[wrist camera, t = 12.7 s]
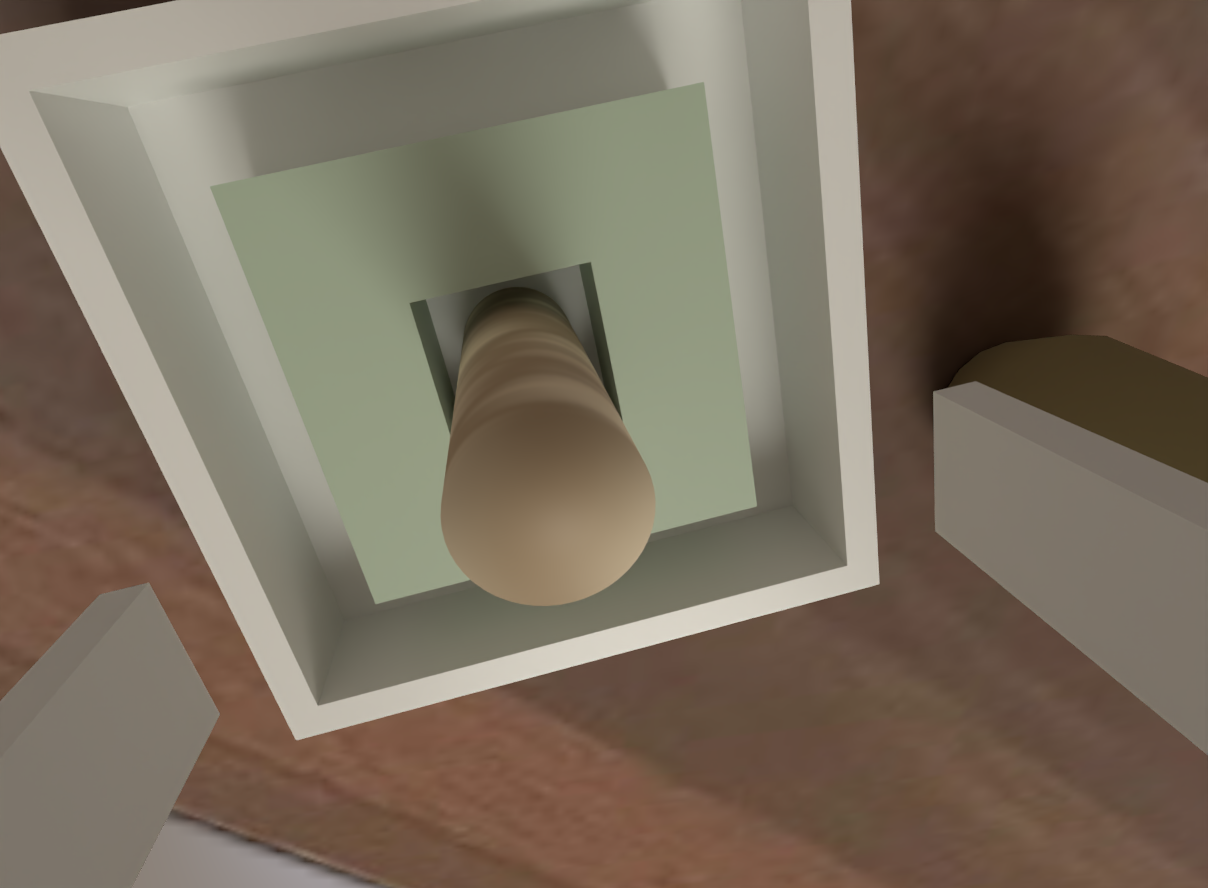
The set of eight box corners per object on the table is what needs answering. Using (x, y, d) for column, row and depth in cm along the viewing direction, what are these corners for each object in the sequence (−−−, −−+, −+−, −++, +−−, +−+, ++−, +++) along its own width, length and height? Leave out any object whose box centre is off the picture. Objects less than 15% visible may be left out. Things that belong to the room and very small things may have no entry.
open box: (759, -58, 23) (844, -129, 18) (811, 512, 32) (879, 584, 26) (85, 75, 22) (-52, 44, 16) (330, 636, 30) (296, 740, 25)
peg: (559, 275, 25) (635, 390, 12) (582, 379, 27) (670, 576, 14) (450, 300, 25) (411, 444, 12) (479, 403, 26) (473, 627, 14)
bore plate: (669, 95, 24) (703, 81, 20) (722, 463, 29) (757, 506, 25) (254, 183, 23) (209, 186, 19) (390, 547, 28) (375, 604, 24)
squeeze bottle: (884, 470, 32) (1321, 801, 15) (958, 295, 29) (1585, 463, 12) (1029, 499, 33) (1559, 823, 17) (1110, 337, 31) (1830, 533, 14)
